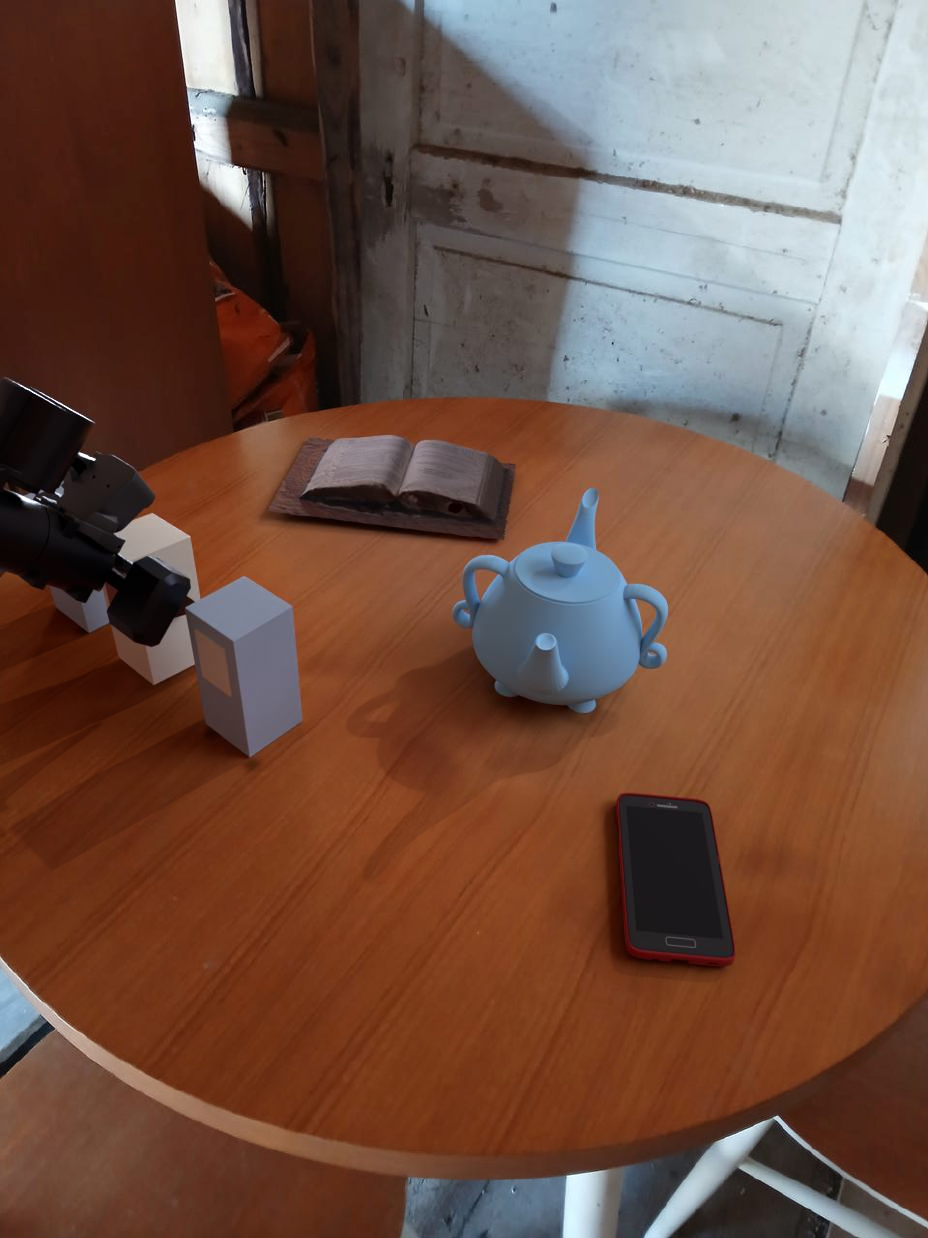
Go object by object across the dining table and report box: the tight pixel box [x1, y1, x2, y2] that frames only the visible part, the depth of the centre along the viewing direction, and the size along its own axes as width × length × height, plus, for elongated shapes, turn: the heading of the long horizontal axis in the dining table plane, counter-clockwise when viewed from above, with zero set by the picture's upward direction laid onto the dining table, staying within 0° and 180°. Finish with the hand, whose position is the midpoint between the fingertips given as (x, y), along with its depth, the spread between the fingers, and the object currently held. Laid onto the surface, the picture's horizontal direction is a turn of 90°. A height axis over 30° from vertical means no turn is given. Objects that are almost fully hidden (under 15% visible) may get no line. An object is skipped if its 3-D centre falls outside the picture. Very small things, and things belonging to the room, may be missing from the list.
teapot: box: [451, 487, 669, 714], centre depth 83 cm, size 16×20×14 cm
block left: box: [23, 482, 110, 634], centre depth 87 cm, size 6×6×13 cm
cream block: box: [103, 512, 201, 686], centre depth 81 cm, size 6×6×13 cm
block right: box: [185, 575, 303, 758], centre depth 76 cm, size 6×6×13 cm
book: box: [267, 434, 517, 541], centre depth 111 cm, size 20×28×4 cm
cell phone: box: [615, 792, 737, 967], centre depth 69 cm, size 8×15×1 cm, turn 176°
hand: (168, 590), depth 82 cm, fingers closed on cream block, 7 cm apart
